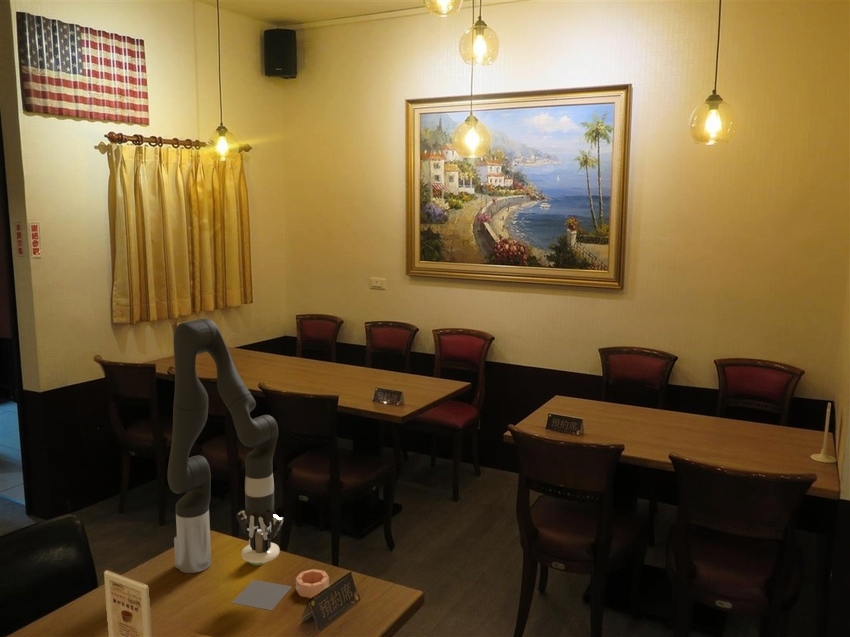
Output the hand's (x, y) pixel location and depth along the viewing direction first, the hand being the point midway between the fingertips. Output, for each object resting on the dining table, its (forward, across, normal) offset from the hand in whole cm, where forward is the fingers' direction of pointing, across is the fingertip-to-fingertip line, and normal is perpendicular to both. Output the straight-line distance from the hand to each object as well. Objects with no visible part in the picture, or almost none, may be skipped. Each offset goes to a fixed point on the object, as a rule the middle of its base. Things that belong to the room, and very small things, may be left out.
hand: (260, 549), depth 188 cm
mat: (+14, 0, 0) cm, 14 cm away
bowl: (+14, +12, +6) cm, 19 cm away
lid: (+1, 0, 0) cm, 1 cm away
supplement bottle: (+14, -10, +16) cm, 23 cm away
